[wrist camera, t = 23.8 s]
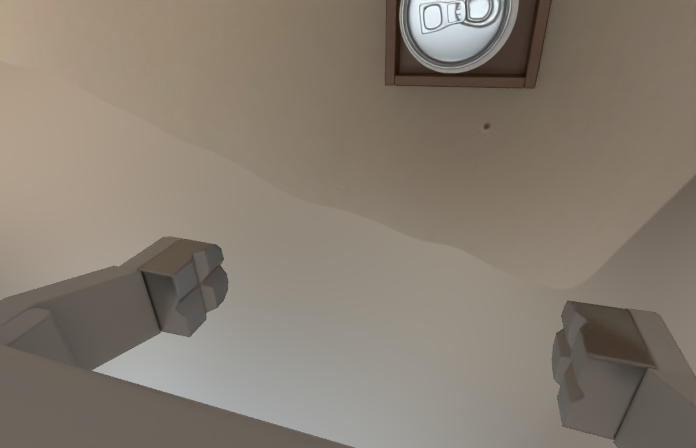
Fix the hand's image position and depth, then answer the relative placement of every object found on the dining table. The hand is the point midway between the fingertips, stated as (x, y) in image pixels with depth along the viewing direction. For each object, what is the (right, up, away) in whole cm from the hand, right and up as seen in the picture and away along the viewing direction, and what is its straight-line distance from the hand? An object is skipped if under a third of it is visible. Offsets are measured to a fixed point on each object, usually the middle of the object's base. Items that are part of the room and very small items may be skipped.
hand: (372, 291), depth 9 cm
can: (+9, +18, +21) cm, 29 cm away
